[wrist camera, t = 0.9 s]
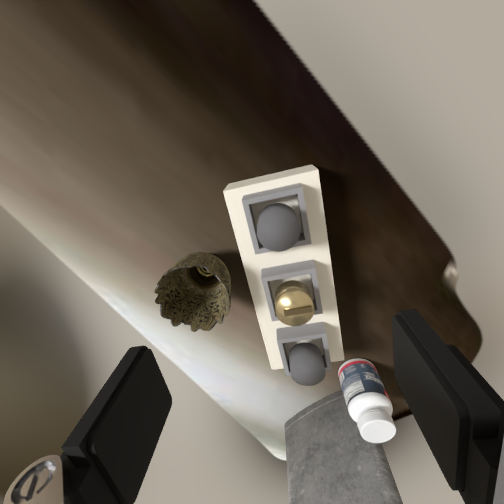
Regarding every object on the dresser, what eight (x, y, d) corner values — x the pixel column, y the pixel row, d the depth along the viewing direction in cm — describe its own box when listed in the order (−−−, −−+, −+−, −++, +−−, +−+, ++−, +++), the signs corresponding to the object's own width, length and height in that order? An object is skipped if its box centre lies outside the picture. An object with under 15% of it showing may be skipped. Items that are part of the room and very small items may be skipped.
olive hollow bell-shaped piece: (247, 249, 33) (241, 283, 26) (227, 298, 36) (217, 341, 29) (186, 227, 33) (163, 256, 25) (172, 279, 35) (146, 318, 28)
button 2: (253, 207, 25) (252, 215, 23) (293, 198, 25) (296, 206, 22) (262, 243, 26) (261, 255, 24) (300, 236, 26) (303, 247, 24)
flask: (277, 422, 45) (283, 590, 29) (352, 380, 41) (408, 550, 24) (292, 433, 46) (305, 603, 30) (366, 394, 42) (430, 567, 25)
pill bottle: (383, 370, 40) (412, 433, 32) (354, 389, 41) (375, 453, 33) (358, 350, 38) (382, 410, 30) (329, 371, 40) (345, 432, 32)
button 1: (286, 344, 31) (287, 362, 29) (318, 340, 31) (323, 358, 28) (291, 368, 33) (293, 387, 30) (323, 364, 32) (327, 383, 30)
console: (228, 183, 30) (219, 195, 25) (311, 164, 29) (322, 172, 23) (271, 347, 39) (272, 382, 33) (337, 337, 38) (348, 373, 32)
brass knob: (271, 283, 28) (272, 299, 26) (307, 277, 28) (311, 292, 25) (278, 312, 30) (279, 330, 27) (312, 307, 29) (317, 324, 26)
